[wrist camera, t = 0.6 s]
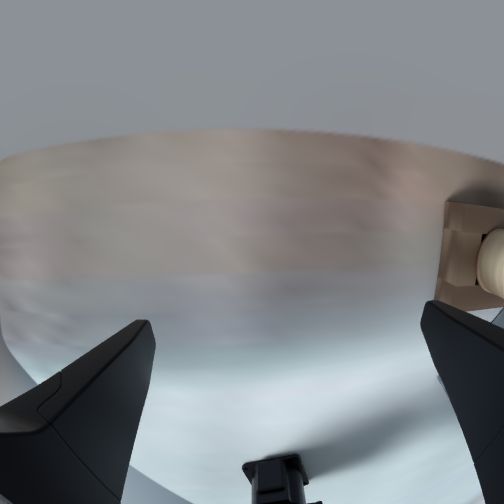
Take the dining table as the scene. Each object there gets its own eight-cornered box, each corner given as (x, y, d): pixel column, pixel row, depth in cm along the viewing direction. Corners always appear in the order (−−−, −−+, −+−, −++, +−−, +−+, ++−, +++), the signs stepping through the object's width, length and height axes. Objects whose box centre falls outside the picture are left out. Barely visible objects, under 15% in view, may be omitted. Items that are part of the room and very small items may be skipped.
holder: (495, 296, 24) (513, 305, 21) (433, 301, 24) (450, 312, 21) (507, 210, 22) (526, 213, 19) (445, 201, 22) (465, 203, 19)
